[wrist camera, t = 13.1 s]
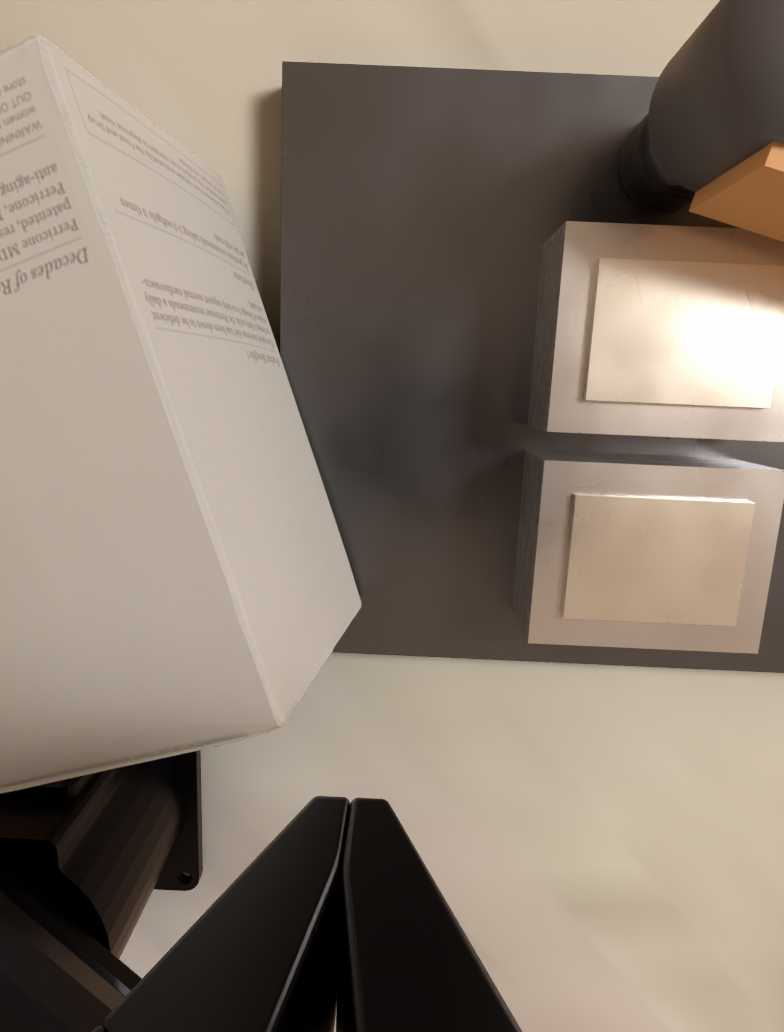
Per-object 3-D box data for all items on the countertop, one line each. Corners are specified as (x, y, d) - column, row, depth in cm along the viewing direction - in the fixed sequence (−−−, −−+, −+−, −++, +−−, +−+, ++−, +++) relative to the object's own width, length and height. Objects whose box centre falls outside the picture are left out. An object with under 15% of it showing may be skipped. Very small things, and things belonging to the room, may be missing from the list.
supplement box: (-302, 189, 12) (-35, 813, 13) (41, 13, 10) (296, 737, 12) (2, 271, 19) (152, 667, 20) (228, 175, 17) (371, 609, 19)
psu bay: (905, 662, 21) (1023, 728, 17) (284, 634, 21) (257, 692, 17) (1025, 113, 17) (1205, 35, 14) (290, 83, 18) (258, -5, 14)
